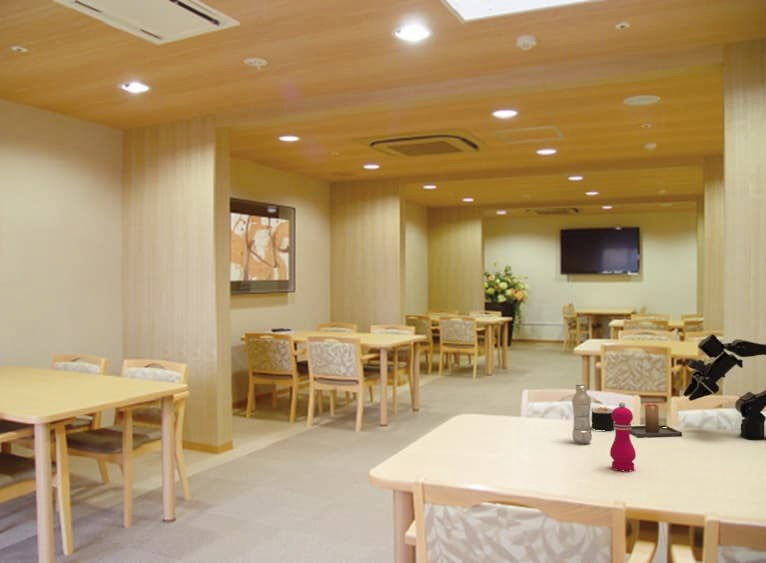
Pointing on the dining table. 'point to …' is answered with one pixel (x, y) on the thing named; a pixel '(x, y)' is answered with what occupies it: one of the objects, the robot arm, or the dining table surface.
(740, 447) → the dining table surface
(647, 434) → the tray
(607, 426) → the sushi
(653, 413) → the soy sauce bottle
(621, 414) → the pepper mill
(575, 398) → the plastic bottle
